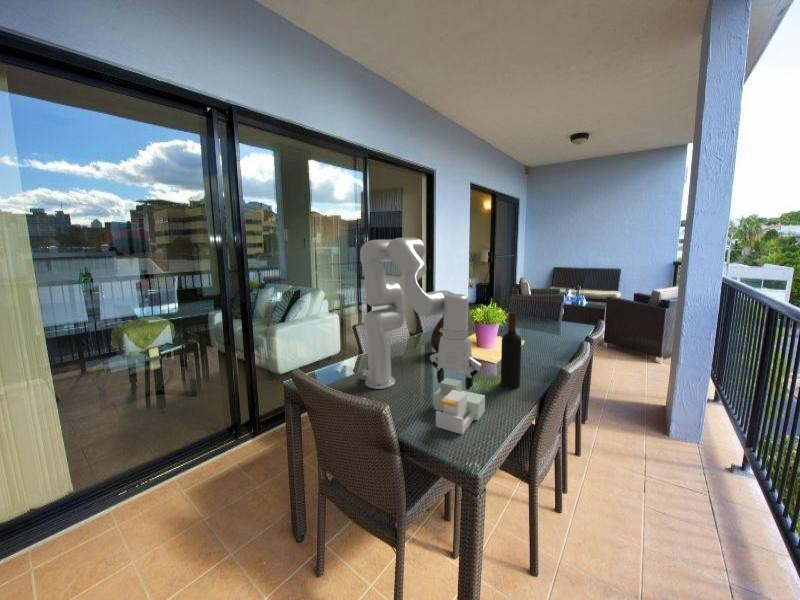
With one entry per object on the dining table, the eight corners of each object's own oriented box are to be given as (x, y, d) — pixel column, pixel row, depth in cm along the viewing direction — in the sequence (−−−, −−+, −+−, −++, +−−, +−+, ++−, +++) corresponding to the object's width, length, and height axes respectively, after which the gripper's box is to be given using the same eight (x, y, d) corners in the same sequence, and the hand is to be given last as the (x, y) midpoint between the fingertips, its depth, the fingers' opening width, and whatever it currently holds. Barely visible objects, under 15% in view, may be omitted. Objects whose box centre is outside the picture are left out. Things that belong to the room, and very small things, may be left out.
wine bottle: (497, 385, 139) (498, 313, 134) (506, 379, 144) (508, 310, 139) (514, 390, 134) (516, 315, 129) (523, 384, 139) (526, 312, 134)
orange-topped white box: (441, 427, 108) (441, 400, 107) (452, 414, 116) (452, 389, 114) (455, 431, 106) (455, 404, 104) (466, 418, 113) (466, 392, 111)
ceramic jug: (463, 359, 170) (463, 300, 165) (432, 359, 170) (431, 301, 165) (458, 348, 187) (458, 294, 182) (430, 349, 187) (429, 295, 182)
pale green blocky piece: (420, 422, 112) (420, 393, 110) (442, 401, 126) (442, 375, 125) (466, 435, 104) (467, 405, 102) (484, 411, 118) (485, 384, 116)
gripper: (425, 332, 108) (425, 383, 111) (478, 341, 99) (476, 395, 102) (435, 327, 114) (435, 375, 117) (486, 334, 105) (484, 386, 108)
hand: (454, 384), depth 110 cm, fingers open, 9 cm apart
